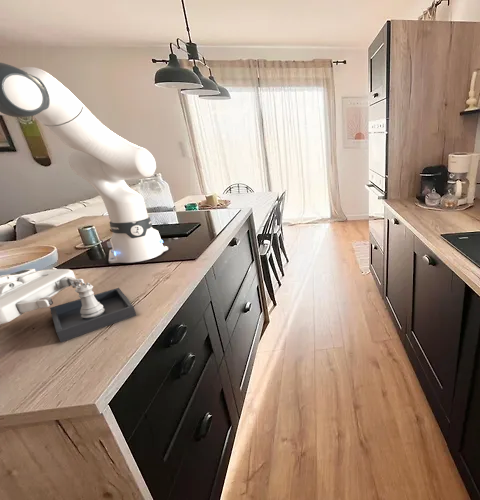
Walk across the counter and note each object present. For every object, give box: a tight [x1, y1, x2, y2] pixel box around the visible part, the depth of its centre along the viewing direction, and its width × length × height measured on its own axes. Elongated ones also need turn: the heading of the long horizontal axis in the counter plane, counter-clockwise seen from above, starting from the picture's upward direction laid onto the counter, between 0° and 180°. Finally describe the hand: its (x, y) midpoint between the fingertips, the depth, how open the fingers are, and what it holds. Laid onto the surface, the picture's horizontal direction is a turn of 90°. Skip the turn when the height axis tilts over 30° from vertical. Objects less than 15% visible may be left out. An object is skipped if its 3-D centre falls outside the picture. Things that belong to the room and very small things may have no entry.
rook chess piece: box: [74, 282, 105, 319], centre depth 69 cm, size 4×4×8 cm
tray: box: [49, 287, 137, 343], centre depth 70 cm, size 15×14×3 cm
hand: (66, 292), depth 67 cm, fingers open, 8 cm apart
